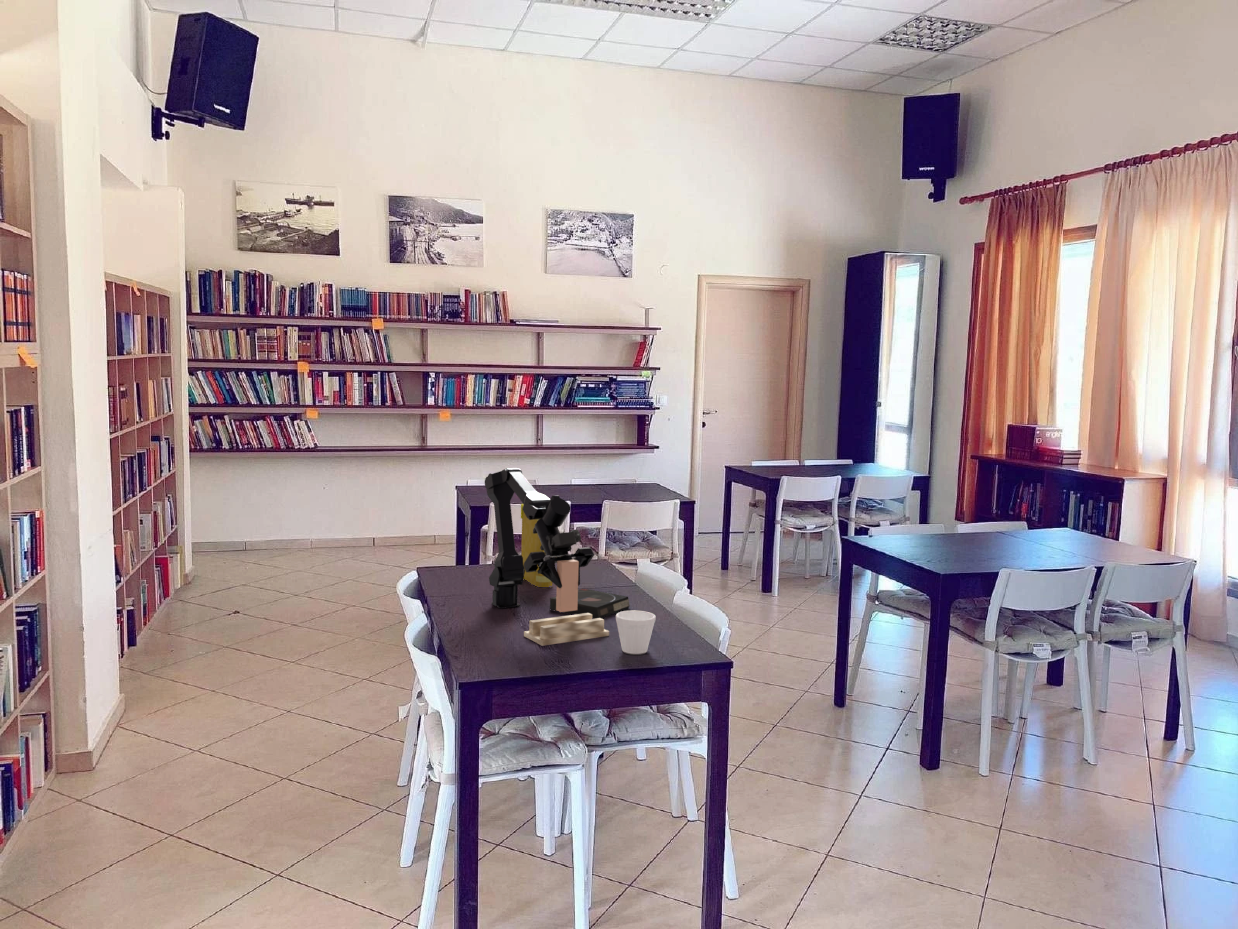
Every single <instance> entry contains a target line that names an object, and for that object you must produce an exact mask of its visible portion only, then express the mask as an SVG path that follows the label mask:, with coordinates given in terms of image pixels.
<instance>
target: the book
mask: <svg viewBox="0 0 1238 929" xmlns="http://www.w3.org/2000/svg"><path fill="white" fill-rule="evenodd" d="M520 519H521V548H520V549H521V553H520V555H522V557H523V565H524V562H525V561H526V559H527V557H528V556H529V554H530V553H531V552H541V551H542V552H544V550H541V549H540V547H541V545H542V544H541V541H540V539H539V536H538V534H537V533H536V534H534V533H533V529H534V527H535V524H536V523H537V521H538V520H539V519H536V520H529V519H528V518H527V517H526V515H525V513H524V511H523V503H521V504H520ZM544 553H545V552H544ZM545 555H546V554H545ZM537 566H538V565H537ZM524 569H525V568H524ZM538 570H539V566H538V569H537V570H536V572H526V571H525V573H524V578H523V579H525V580H527V581H528V582H530V583H531V584H530V583H529V584H530V585H532V584H533V585H535V586H538V587H549V586H552V585H553V584H554V583H553V582H551V581H550V580H549V579H548V578H546V577H545V576H543V575H542V574H538V572H537V571H538ZM525 580H524V581H525ZM527 581H526V582H527ZM528 582H527V583H528ZM533 585H532V586H533ZM535 586H534V587H535ZM552 587H553V586H552Z"/></svg>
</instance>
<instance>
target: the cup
mask: <svg viewBox="0 0 1238 929" xmlns="http://www.w3.org/2000/svg"><path fill="white" fill-rule="evenodd" d="M615 614H616V615H615V622H616V628H617V631H618V636H619V641H620V645H621V646H620V647H621V651H622V652H623V653H624V654H626V655H630V656H641V655H645V654H646V653H647V652H648V648H649V646H650V645H649V644H650V641H651V637H652V633H653V629H654V625H655V623H656V620H657V619H656V618H657V617H656V615H655V614H654V613H652V612H648V611H645V610H634V609H633V610H623V611H620V612H617V613H615Z"/></svg>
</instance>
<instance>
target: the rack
mask: <svg viewBox="0 0 1238 929" xmlns="http://www.w3.org/2000/svg"><path fill="white" fill-rule="evenodd" d="M528 622H529V625H528V628H529V629H528V630H526V631H523V637H525V638H527V639H529V640H531V641H533V643H534V642H535V643H536V644H538V645H540V646H542V647H543V646H549V645H550V646H551V645H556V644H564V643H570V642H575V641H577V642H578V641H583V640H584V641H585V640H589V639H596V638H603V637H608V636H609V637H610V630H608V629H605V619H603V618H596V619H592V614H590V613H583V614H576V615H571V614H567V615H562V616H554V617H547V618H540V619H533V620H532V619H531V620H529V621H528Z"/></svg>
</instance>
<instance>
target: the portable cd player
mask: <svg viewBox="0 0 1238 929" xmlns="http://www.w3.org/2000/svg"><path fill="white" fill-rule="evenodd" d="M630 605H631V604H630V599H629V596H628V595H627V596H626V595H622V594H616V593H611V592H610V593H609V592H604V591H600V590H593V589H588V588H584V587H583V588H580V589H579V588H578V605H577V610H574V611H567V612H563V613H562V614H566V613H570V614H569V615H571V614H574V615H576V614H583V613H590V614H592V618H593V619H596V618H602V619H603V617H604V618H606V617H609V616H612V615H615V614H617V613H619V611H620V612H622V610H623V611H625V610H624V609H626V610H628V609H629V608H630ZM550 609H551V610H555V611H554V612H556V611H557V610H556V596H553V597H550V598H549V610H550ZM551 610H550V611H551ZM614 613H615V614H614ZM611 614H612V615H611ZM605 616H606V617H605Z"/></svg>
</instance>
